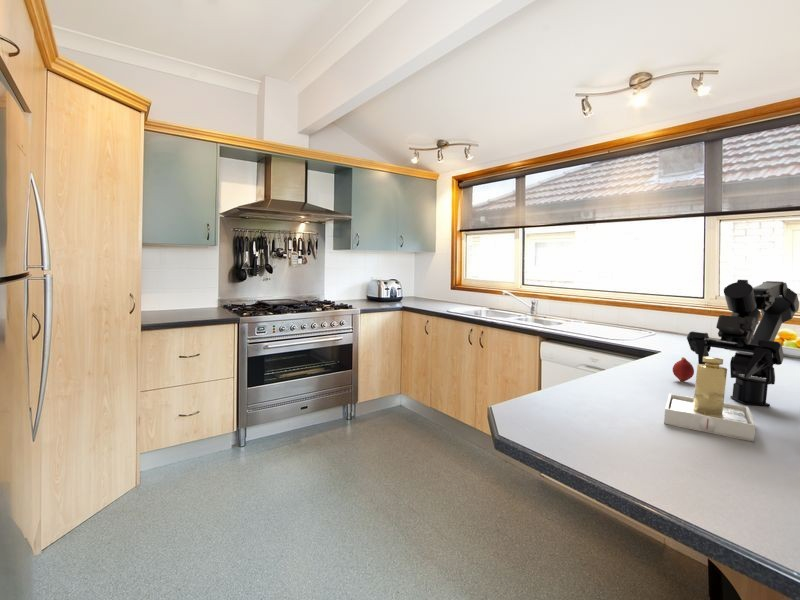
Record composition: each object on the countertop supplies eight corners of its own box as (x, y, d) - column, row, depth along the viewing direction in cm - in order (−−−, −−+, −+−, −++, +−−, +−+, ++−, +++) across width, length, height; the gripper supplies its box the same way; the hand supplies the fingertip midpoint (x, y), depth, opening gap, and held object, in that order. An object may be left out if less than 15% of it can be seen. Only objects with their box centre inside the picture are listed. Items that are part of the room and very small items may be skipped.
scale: (668, 406, 111) (669, 393, 111) (746, 421, 102) (748, 406, 102) (663, 424, 98) (665, 409, 98) (754, 442, 89) (755, 426, 89)
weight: (699, 405, 104) (704, 355, 103) (726, 413, 99) (732, 360, 99) (688, 409, 101) (693, 356, 100) (716, 416, 96) (722, 361, 95)
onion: (686, 380, 142) (688, 356, 142) (697, 384, 136) (699, 359, 136) (668, 378, 143) (670, 355, 142) (677, 383, 137) (679, 358, 136)
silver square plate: (672, 401, 110) (672, 398, 110) (743, 413, 102) (743, 410, 102) (669, 415, 98) (669, 412, 98) (748, 430, 90) (749, 427, 90)
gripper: (692, 300, 113) (671, 345, 108) (785, 307, 98) (766, 359, 93) (701, 328, 118) (681, 372, 113) (791, 339, 103) (773, 390, 98)
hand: (721, 373), depth 104 cm, fingers open, 9 cm apart
